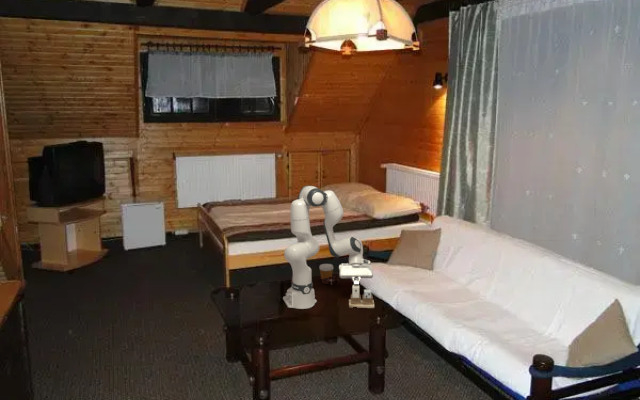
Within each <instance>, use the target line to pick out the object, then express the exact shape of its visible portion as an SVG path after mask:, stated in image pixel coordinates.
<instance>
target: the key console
mask: <svg viewBox="0 0 640 400" xmlns="http://www.w3.org/2000/svg"><path fill="white" fill-rule="evenodd" d="M361 296H362V297H361ZM353 307H357V308H358V309H359V308H363V309H364V308H365V309H366V308H367V309H374V308H375V302H374V297H373V294H371V298H364V294H362V295H361V294H359V298H352V293H351V294H350V299H348V308H353Z"/></svg>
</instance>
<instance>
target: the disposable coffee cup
mask: <svg viewBox="0 0 640 400" xmlns="http://www.w3.org/2000/svg"><path fill="white" fill-rule="evenodd" d="M318 267H319V273H320V280H321V279H324V278H329V277H333V270H334V269H335V268H334V265H333V264H332V263H322V264H319V266H318Z"/></svg>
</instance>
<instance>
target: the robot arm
mask: <svg viewBox="0 0 640 400" xmlns="http://www.w3.org/2000/svg"><path fill="white" fill-rule="evenodd" d="M311 207H314V208H315V207H317V208H319V207H321V209H322V211H323V213H324V219H323V228H324V233H325V236H326V241H327V244H328V249H329V250H328V252H329V254H330V256H332V257H333V258H336V259H337V258H340V257H343V256H347V255H348V256H349V257H348V262H346V263H340V264H339V266H338V270H339V278H340V279H351V280H352V282H353V285H359V284H360V281H361V279H373V277H374V270H373V266H372V265H371V263H372V262H371V261H370V260H368V259H364V256H363V255H364V249H363V248H364V246H363V243H362V240H361V238H358V237H354V236H350V237H349V236H348V237H346V238H343V239H342V238H341V239H339V240H338V239H336V236H335V232H334V227H335V225H336V224H338V223H339V222H341V220H342V218H343V216H344V209H343V206H342V204H341V202H340V200H339V198H338V196H337V194H336V193H335V192H334V190H330V189H329V190H328V189H327V190H322V189H320V188H318V187H316V186H313V185H305V186H303V187H302V188H301V189H300V191H299V194H298V196H297V199H294V200H293V201H292V202H291V204H290V209H289V210H290V211H289V215H290V216H289V217H290V218H289V219H290V231H291V233H292V234H293V235H294V236H295V237H296V239H297V242H295V243H292V244H290V245H289V246H287V247H286V248H285V249H284V251H283V254H284V255H283V256H284V259H285V261H287V263H289V264H290V266H291V269H292V277H293V282H292V281H291V287H289V288H288V289H287V290H286V293H285V296H283V297H282V300H283V301H284V303H285V305H286V306H287V308H292V309H297V310H298V309H299V310H300V309H301V310H304V309H311V308H312V307H313V306H315V304H316V303H317V302H318V301H317V299H316V298H315V297H316V295H315V289H314V288H313V281H312V280H313V279H312V275H313V274H312V273H313V271H312V268H311V267H310V266H308V264H307V259H309V258H313V257H315V255H316V254H318V253H319V251H320V244H319V242H318V241H317V240H316V239H315V238H314V237H313V234H312V231H311V224H310V223H311V222H310V209H311ZM355 279H357V280H355ZM359 286H360V285H359Z"/></svg>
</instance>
